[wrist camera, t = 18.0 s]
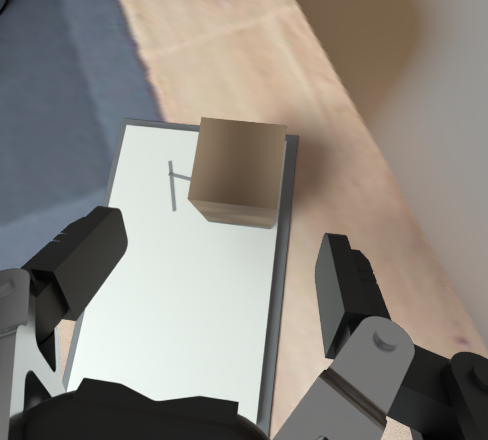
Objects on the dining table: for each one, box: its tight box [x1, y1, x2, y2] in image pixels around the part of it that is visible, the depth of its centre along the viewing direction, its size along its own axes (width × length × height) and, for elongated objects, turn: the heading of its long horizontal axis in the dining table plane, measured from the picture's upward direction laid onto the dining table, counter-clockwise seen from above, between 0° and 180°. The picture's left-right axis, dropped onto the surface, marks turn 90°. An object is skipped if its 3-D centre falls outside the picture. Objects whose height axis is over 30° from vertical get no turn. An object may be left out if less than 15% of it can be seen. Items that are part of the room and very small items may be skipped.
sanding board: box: [62, 118, 298, 436], centre depth 22 cm, size 16×24×1 cm, turn 173°
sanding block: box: [187, 117, 287, 229], centre depth 19 cm, size 5×5×7 cm
